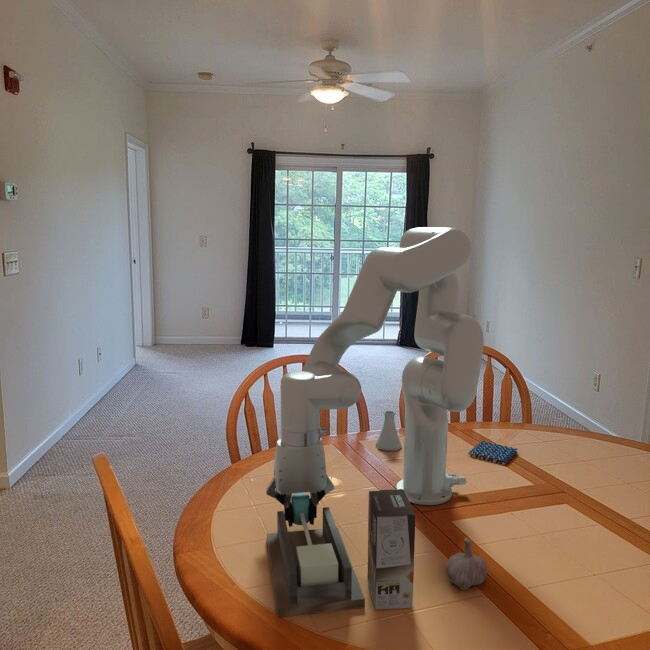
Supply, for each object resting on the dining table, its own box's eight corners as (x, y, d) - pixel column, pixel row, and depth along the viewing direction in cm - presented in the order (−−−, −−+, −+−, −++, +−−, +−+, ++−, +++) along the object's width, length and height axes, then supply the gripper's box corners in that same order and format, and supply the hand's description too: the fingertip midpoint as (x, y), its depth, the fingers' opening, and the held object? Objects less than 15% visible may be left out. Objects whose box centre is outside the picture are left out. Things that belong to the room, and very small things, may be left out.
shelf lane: (337, 534, 111) (337, 503, 110) (364, 607, 90) (365, 570, 89) (266, 540, 109) (266, 509, 108) (277, 617, 87) (277, 579, 86)
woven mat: (480, 445, 158) (481, 438, 158) (518, 454, 152) (519, 447, 152) (466, 457, 150) (466, 450, 149) (505, 468, 144) (506, 460, 143)
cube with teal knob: (313, 515, 115) (313, 491, 114) (337, 591, 91) (338, 562, 90) (284, 518, 114) (284, 494, 113) (301, 595, 90) (301, 566, 89)
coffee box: (414, 608, 90) (417, 515, 87) (374, 610, 89) (376, 517, 86) (401, 573, 99) (404, 488, 96) (365, 575, 98) (367, 489, 95)
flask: (400, 452, 152) (401, 417, 150) (374, 450, 153) (374, 415, 152) (402, 443, 159) (403, 409, 157) (377, 441, 160) (377, 407, 158)
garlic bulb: (460, 598, 92) (463, 554, 91) (435, 573, 99) (436, 531, 98) (497, 587, 95) (500, 543, 94) (470, 563, 102) (472, 522, 101)
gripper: (338, 426, 115) (337, 509, 118) (256, 431, 112) (257, 516, 115) (345, 439, 107) (344, 528, 110) (258, 445, 104) (260, 536, 108)
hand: (300, 521), depth 113 cm, fingers closed on cube with teal knob, 3 cm apart
